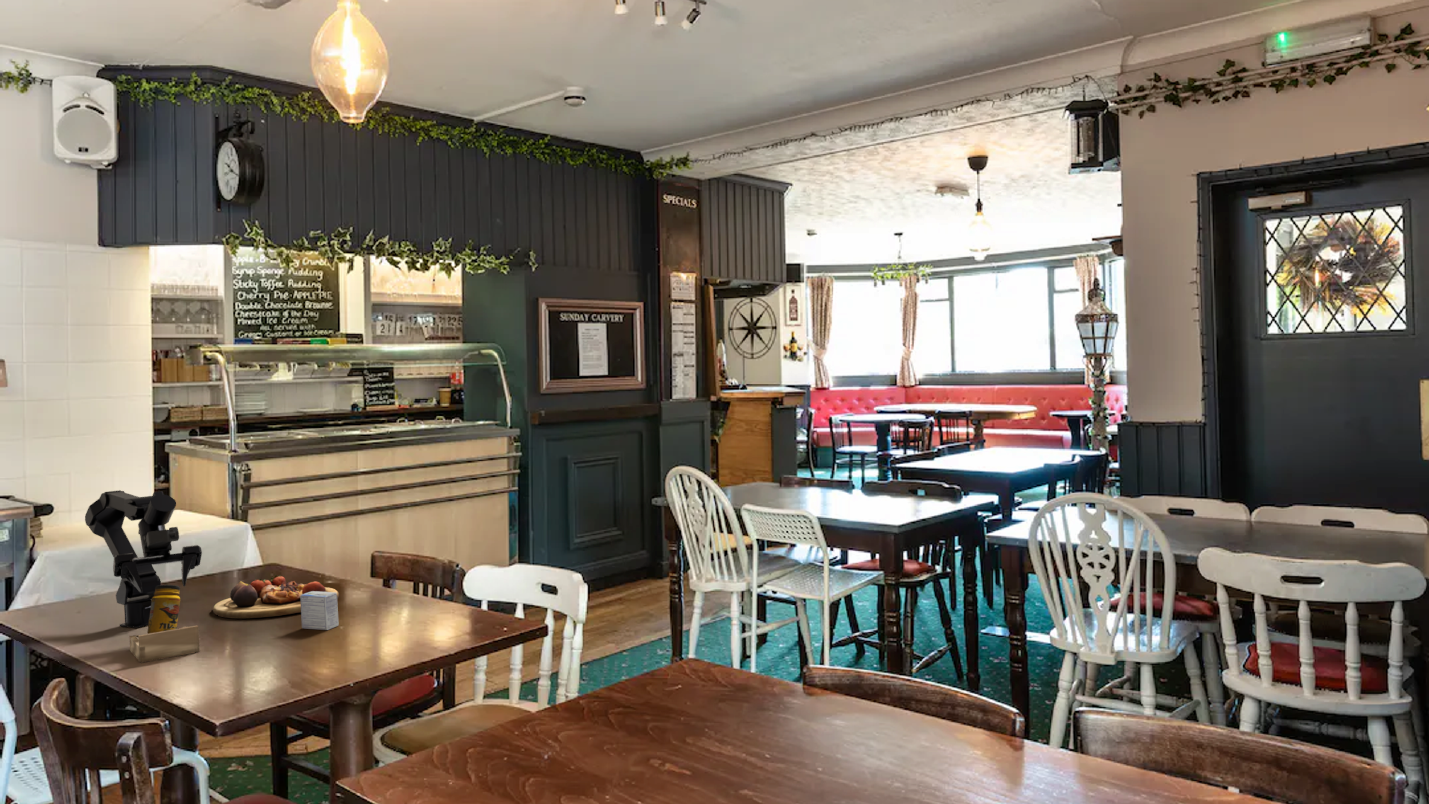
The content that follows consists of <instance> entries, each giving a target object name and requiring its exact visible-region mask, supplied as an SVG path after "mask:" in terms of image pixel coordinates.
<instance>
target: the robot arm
mask: <svg viewBox="0 0 1429 804" xmlns="http://www.w3.org/2000/svg"><path fill="white" fill-rule="evenodd" d="M176 506H177V501H176V499H175V498H174V497H171V496H169V495H168V494H164V492H163V491H154V492H153V494H152V495H148V496H137V495H134V494H130V493H127V492H125V490H120V489H119V490H110V491H104V492H103V493H101V494H100V496H99V498H98V499H96V500H95V501H94V502H92V503H91V504H90V505H89V506H88V507H87V510H86V513H85V514H84V515H85V516H84V522H85V525H86V527H88V528H89V529H90V531H91V532H92V533H93V534H94V535H95V536H98V537H100V538H103V540H104V541H105V544H106V546H107V548H108V549H109V551H110V553H111V555H112V557H113V563H112V565H113V566H112V570H113V576H114V577H115V578H120V583H119V587H118V589H117V590H116V594H115V599H116V604H119V605H122V606H123V608H124V610H123V611H124V622H123V623H119V627H123V628H124V627H126V628H134V629H137V628H138V629H139V628H141V627H145V626H148V625H149V617H150V610H151V602H152V598H153V597H154V592H155V587H156V586H158V585H162V580H161V579H160V578H161V577H159V576H158V574H157V570H155V569H154V566H157V565H158V566H159V565H163V564H172V563H180V562H181V582H182V585H183V587H186V586H187V585H186V584H187V579H188V576H189V573H190V571H191V570H194V569H196V567H199V566H201V565H200V564H201V560H202V554H203V551H202V547H201V546H200V545H198V544H195V545H186V546H182V547H181V552H178V553H171V551H172V548H173V546H172V542H178V541H179V539H180V533H179V528H178V526H172V527H168V528H169V529H166V525H167V524H168V523H169V522H170V520H171V518H172V515H173V514H174V511H175V509H176ZM125 518H127V519H128V520H129V521H132V522H133V521H139V522H138V523H137V527H138V535H139V538H140V543H141V548H142V553H143V554H142V555H143V556H141V557H140V556H138V554H137V552H136V550H135V549H134V547H133V545H132V543H131V542H130V540H129V538H128V535H127V534H126V532H125V531H124V529H123V524H124V520H125Z"/></svg>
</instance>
